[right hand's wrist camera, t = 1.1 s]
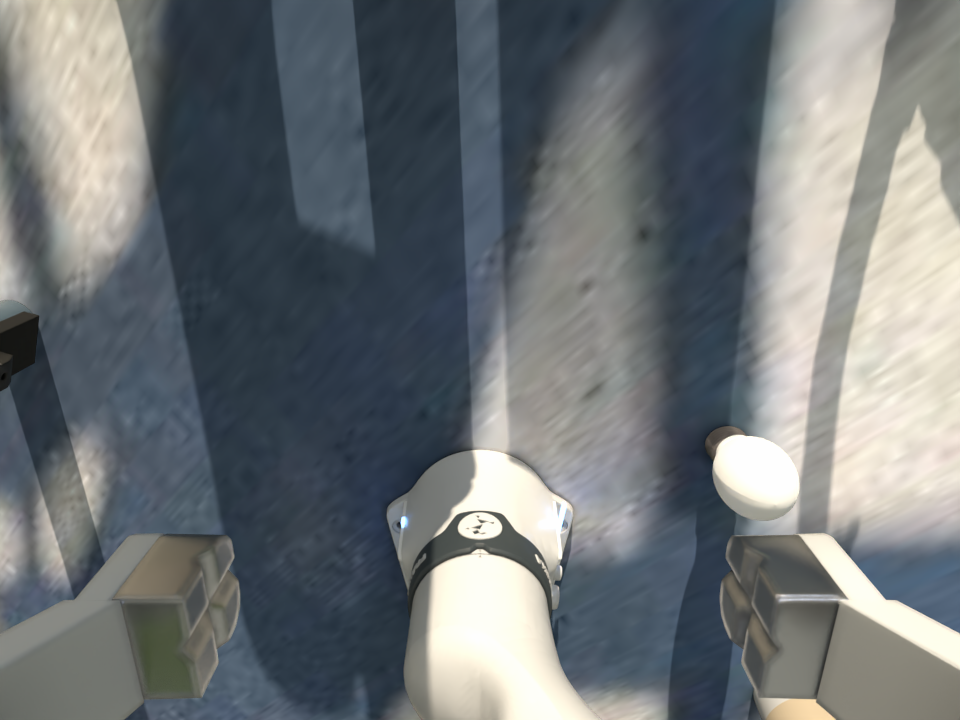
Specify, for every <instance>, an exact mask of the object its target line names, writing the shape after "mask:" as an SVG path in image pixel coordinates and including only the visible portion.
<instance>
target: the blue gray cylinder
mask: <svg viewBox="0 0 960 720" xmlns="http://www.w3.org/2000/svg"><path fill="white" fill-rule="evenodd" d="M23 311H25V312H28V313H32V312H31V311H30V310H29V309H28V308H27V307H25V306H24V305H23V304H21V303H19V302H16V301H12V300H2V301H0V321H2V320H5V319H7V318H9V317H12V316H14V315H16V314H19V313H21V312H23Z"/></svg>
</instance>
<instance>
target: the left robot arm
mask: <svg viewBox="0 0 960 720" xmlns="http://www.w3.org/2000/svg"><path fill="white" fill-rule="evenodd" d="M38 322H39V316H38V315H35V314H32V313H28V312H25V311H23V312H21V313H19V314H16V315H14V316H12V317H9V318H7V319H5V320H2V321H0V391H2V390H4V389H5V388H7V387H8V386H9V384H10V382H11V376H12V375H14V374H15V373H17V372H19V371H21V370H23V369H24V368H26V367H28V366H30V365H32V364H33V363H35V353H36V342H37V332H38Z"/></svg>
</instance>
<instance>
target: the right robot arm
mask: <svg viewBox="0 0 960 720" xmlns="http://www.w3.org/2000/svg"><path fill="white" fill-rule="evenodd" d="M387 521H388V524H389V528H390V531H391V534H392V538H393V541H394V545H395V548H396V552H397V555H398V559H399V562H400V565H401V569H402V572H403V576H404V579H405V583H406V586H407V589H408V593H407V596H408V612H409V617H410V626H409V633H408V641H407V648H406V655H405V663H404V682H405V688H406V691H407V695H408V697H409V700H410V702H411V704H412V706H413V707H414V709H415V711H416V712H417V714H418V715H419V717H420V718H421V720H602V719H601V718H600V717H599V716H598V715H597V714H596V713H595V712H594V711H593V710H592V709H591V708H590V707H589V706H588V705H587V704H586V703H585V702H584V700H583V699H582V698H581V697H580V696H579V695H578V693H577V692H576V691H575V689H574V688H573V687H572V685H571V684H570V682H569V681H568V679H567V678H566V676H565V674H564V672H563V670H562V668H561V665H560V662H559V659H558V655H557V651H556V647H555V643H554V639H553V634H552V629H551V624H550V617H551V612H552V609H553V610H555V609H557V607H558V603H559V587H558V586H557V585H554V583H555V580H561V577H562V566H560V562H561V560H562V555H563V552H564V548H565V545H566V541H567V538H568V534H569V531H570V528H571V524H572V521H573V508H572V506H571V505H570V504H569V503H568V502H567V501H566V500H564V499H563V498H561V497H559V496H558V495H556V494H554V493H552V492H551V491H550V490H549V489H548V488H547V487H546V485H545V484H544V483H543V481H542V480H541V478H540V477H539V476H538V475H537V473H536V472H535V471H534V470H533V469H531V468H530V467H529V466H528V465H526V464H525V463H524V462H522V461H520V460H519V459H517V458H515V457H512V456H510V455H507V454H504V453H501V452H497V451H491V450H470V451H463V452H459V453H456V454H453V455H450V456H448V457H445V458H443V459H442V460H440V461H438V462H436V463H435V464H434V465H432V466H431V467H430V468H429V469H428V470H426V471H425V472H424V474H423V475H422V476H421V477H420V478H419V480H418V481H417V483H416V484H415V485H414V487H413V488H412V489H411V490H410V491H409V492H408V493H406V494H404V495H403V496H401V497H399V498H397V499H396V500H394V501H393V502H392V503H391V504H390V505H389V506H388V508H387ZM398 522H401V525H400V524H399V523H398ZM234 557H235V556H234V551H233V546H232V541H231V539H230V538H229V537H228V536H226V535H204V534H134V535H131V536H128V537H127V538H126V539H125V541H124V542H123V543H122V544H121V545H120V546H119V548H118V549H117V550H116V551H115V552H114V554H113V555H112V556H111V557H110V558H109V559H108V561H107V562H106V563H105V564H104V565H103V567H102V568H101V569H100V570H99V571H98V572H97V574H96V575H95V576H94V577H93V578H92V579H91V581H90V582H89V583H88V584H87V585H86V587H85V588H84V589H83V590H82V591H81V592H80V594H79V595H78V596H77V597H76V598H75V600H63V601H62V602H60V603H58V604H56V605H54V606H52V607H50V608H48V609H46V610H44V611H42V612H41V613H39V614H37V615H35V616H33V617H31V618H29V619H27V620H25V621H23V622H21V623H19V624H18V625H16V626H14V627H12V628H10V629H8V630H6V631H4V632H2V633H0V720H124V719H126V718H127V717H128V716H129V715H130V714H131V713H132V712H134V711H135V710H136V709H137V708H138V707H139V706H141V705H142V704H143V703H144V700H143V699H176V698H202V696H203V694H204V692H205V690H206V687H207V685H208V683H209V681H210V679H211V677H212V675H213V673H214V671H215V669H216V667H217V665H218V663H219V661H218V656H217V650H216V649H218V648H219V647H221V646H222V645H223V644H225V643H226V642H227V641H229V640H230V638H231V635H232V633H233V631H234V629H235V626H236V623H237V618H238V613H239V609H240V589H239V582H238V579H237V578H236V577H235V576H234V575H233V574H232V573H231V572H230V571H229V570H228V568H229V566H230V564H231V563H232V561H233V559H234ZM725 557H726V559H727V561H728V563H729V564H730V566H731V568H732V570H731V571H730V572H729V573H728V574H727V575H726V576H725V577H724V578H723V579H722V582H721V590H720V606H721V615H722V619H723V623H724V626H725V629H726V631H727V633H728V635H729V638H730V640H731V641H733V642H734V643H735V644H737V645H738V646H739V647H741V648H742V649H744V650H743V656H742V661H741V663H742V665H743V667H744V669H745V671H746V673H747V675H748V677H749V679H750V681H751V683H752V685H753V687H754V689H755V691H756V694H757V696H758V698H783V699H816V703H817V704H819V705H820V706H821V707H822V708H823V709H824V710H826V711H827V712H828V713H829V714H830V715H831V716H832V717H834V718H835V719H836V720H960V634H959V633H958V632H956V631H954V630H952V629H950V628H948V627H946V626H944V625H942V624H940V623H938V622H937V621H935V620H933V619H931V618H929V617H927V616H925V615H923V614H921V613H919V612H918V611H916V610H914V609H912V608H910V607H908V606H906V605H904V604H902V603H900V602H898V601H897V600H885V598H884V597H883V596H882V595H881V594H880V593H879V591H878V590H877V589H876V588H875V587H874V585H873V584H872V583H871V582H870V581H869V580H868V578H867V577H866V576H865V575H864V574H863V572H862V571H861V570H860V569H859V568H858V567H857V565H856V564H855V563H854V562H853V561H852V560H851V558H850V557H849V556H848V555H847V554H846V552H845V551H844V550H843V549H842V548H841V547H840V545H839V544H838V543H837V542H836V541H835V539H834V538H833V537H831V536H829V535H827V534H825V533H815V534H794V535H749V536H731V538H730V540H729V542H728V545H727V551H726V556H725Z"/></svg>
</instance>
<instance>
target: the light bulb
mask: <svg viewBox="0 0 960 720" xmlns="http://www.w3.org/2000/svg"><path fill="white" fill-rule="evenodd" d="M705 448H706V451H707V453H708V454H709V456H710V457H711V459H712V460H713V462H714V463H713V470H712V473H713V480H714V484H715V487H716V489H717V492H718V494H719V495H720V497H721V498H722V500H723V501H724V502H725V503H726V504H727V505H728V506H729V507H730V508H731V509H732V510H734V511H735V512H736V513H738V514H740V515H742V516H744V517H746V518H749V519H752V520H759V521H769V520H774V519H777V518H779V517H781V516H783V515H785V514H786V513H787V512H789V511H790V510H791V508H792V507H793V506H794V504H795V502H796V500H797V497H798V494H799V477H798V473H797V470H796V468H795V465H794V464H793V462H792V460H791V459H790V458H789V456H788V455H787V454H786V453H785V452H784V451H783V450H782V449H781V448H780V447H778V446H777V445H775V444H774V443H772V442H770V441H768V440H766V439H763V438H758V437H753V436H746V434H745V433H744V432H743V431H742V430H740V429H738V428H736V427H731V426H726V427H721V428H718V429H716V430H714V431H713V432H712V433H710V435H709V436H708V437H707V439H706V442H705Z"/></svg>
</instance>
